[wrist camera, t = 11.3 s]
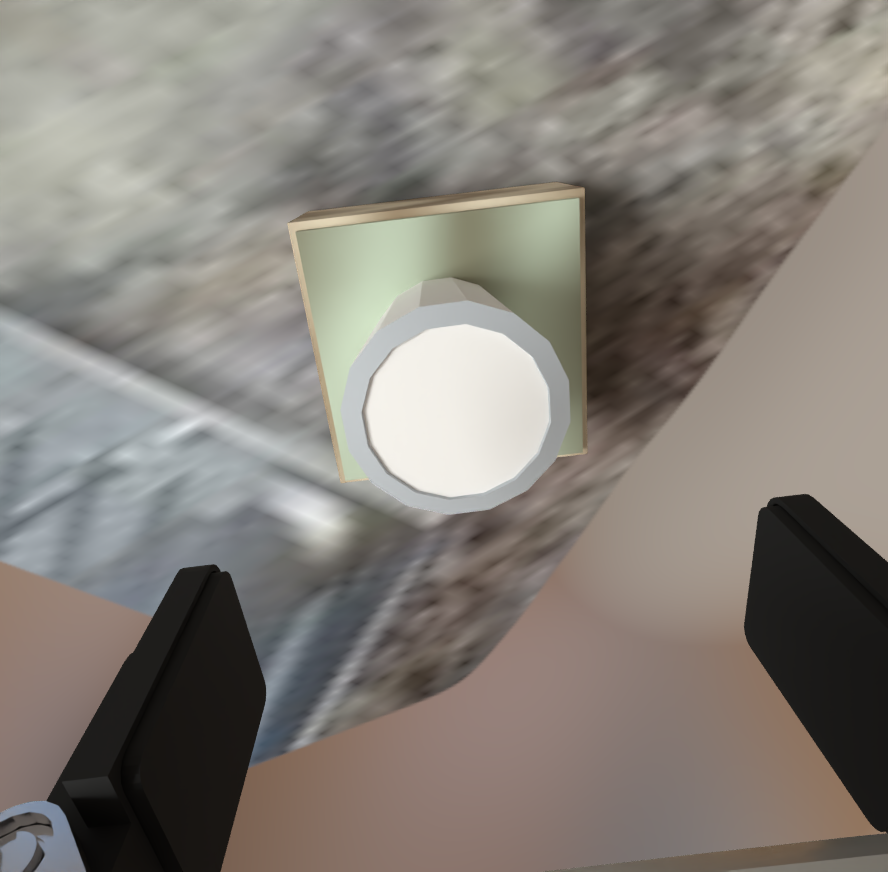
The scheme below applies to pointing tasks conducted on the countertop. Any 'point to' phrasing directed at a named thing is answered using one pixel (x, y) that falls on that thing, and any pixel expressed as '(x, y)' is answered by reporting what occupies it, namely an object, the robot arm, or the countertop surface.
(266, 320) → the countertop surface
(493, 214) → the pedestal
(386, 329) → the white grey-rimmed cylinder
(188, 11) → the countertop surface
